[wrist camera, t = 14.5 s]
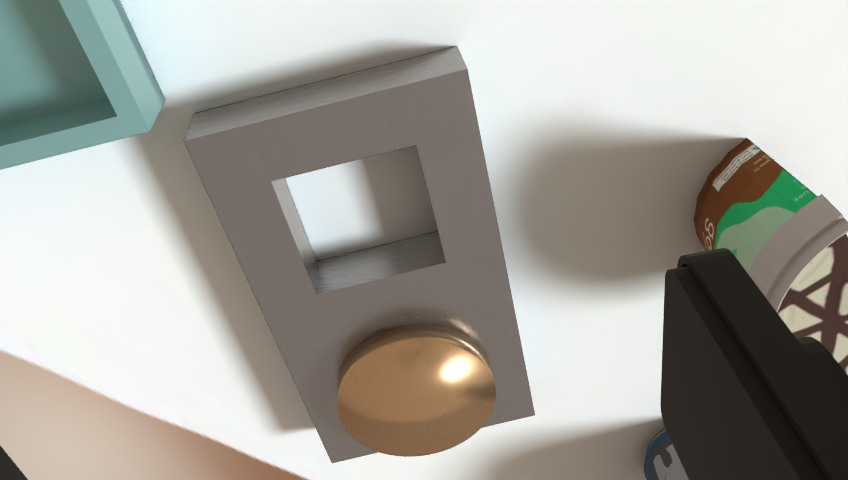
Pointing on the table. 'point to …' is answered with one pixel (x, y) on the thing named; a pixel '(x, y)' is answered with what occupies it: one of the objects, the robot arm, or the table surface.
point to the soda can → (663, 460)
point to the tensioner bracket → (374, 259)
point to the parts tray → (70, 78)
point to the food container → (781, 242)
